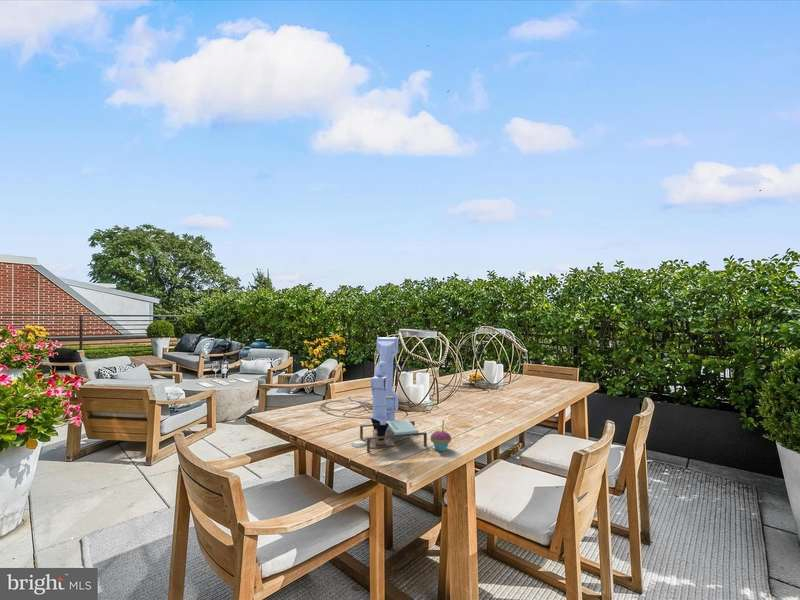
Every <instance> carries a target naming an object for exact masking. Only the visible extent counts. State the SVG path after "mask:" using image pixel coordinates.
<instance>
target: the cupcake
mask: <svg viewBox="0 0 800 600" xmlns="http://www.w3.org/2000/svg"><path fill="white" fill-rule="evenodd" d="M441 425H442V426H441V431H440V430H437V431H435V432H433V433H432V434H431V435H430V442H432V444H433V447H434V449H435V450H436V451H438V452H445V451H447V449H448V446H449V444H450V443H451V441H452V435H450V433H448V432H446V431H444V427H445V418H443V420H442V424H441Z"/></svg>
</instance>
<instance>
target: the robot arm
mask: <svg viewBox="0 0 800 600" xmlns="http://www.w3.org/2000/svg"><path fill="white" fill-rule="evenodd" d="M376 349H377V352H378V353H379V360H378V362H377V363H376V365H375V369H374V374H373V377H371V379H370V380H371V381H370V388H371V395H372V414H371V415H369V418H370V420H371V424H373V426H372V427H373V430H374V429H377V434H378V436H385V433H387V431H391V429H390V428H389V427H388V426H389V424H388V423H386V421H393V420H396V411H398V410H399V395H398V393H397V392H395V391H394V390H393V385H394V384H393V376H394V358H395V356H396V355H398V354H399V338H398V337H396V336H395V337H393V336H392V337H387V336H385V337H384V336H383V337H381V336H378V337H377V339H376ZM378 440H379V441H384V438H380V439H378Z"/></svg>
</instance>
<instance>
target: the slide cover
mask: <svg viewBox="0 0 800 600" xmlns="http://www.w3.org/2000/svg"><path fill="white" fill-rule="evenodd" d="M409 421H410V420H408V419H407V418H406V419H395V420H393V421H386V423H388V424H389V426H388V427H389V428H390V429H391V430H390V431H392V433H393V435H402V434H413V433H420V431H419V429H418V428H416V426H415V427H414V426H413V425H412V423H410V422H409Z"/></svg>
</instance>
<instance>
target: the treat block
mask: <svg viewBox="0 0 800 600" xmlns="http://www.w3.org/2000/svg"><path fill="white" fill-rule="evenodd" d="M386 433H387V432H386ZM386 433H385V436H387V435H386ZM376 436H378V434H377V429H374V428H373V429H372V437H376ZM373 442H374V444H375V445H380V444H386V438H384V441H379V440H378V439H373Z"/></svg>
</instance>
